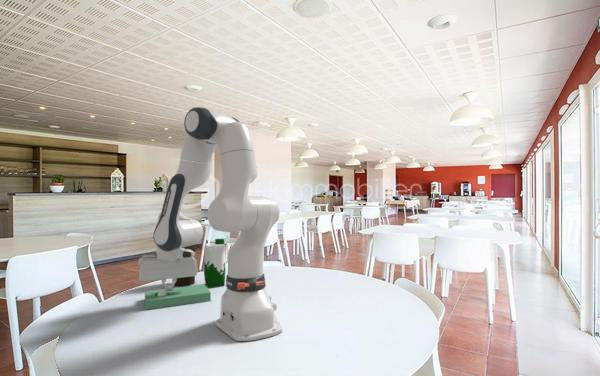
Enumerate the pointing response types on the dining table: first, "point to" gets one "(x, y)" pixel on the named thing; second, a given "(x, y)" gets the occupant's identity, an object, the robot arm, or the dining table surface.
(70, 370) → the dining table surface
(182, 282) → the brown cylinder
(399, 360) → the dining table surface
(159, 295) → the golf ball
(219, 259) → the milk carton
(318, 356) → the dining table surface
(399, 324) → the dining table surface
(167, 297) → the putting mat
